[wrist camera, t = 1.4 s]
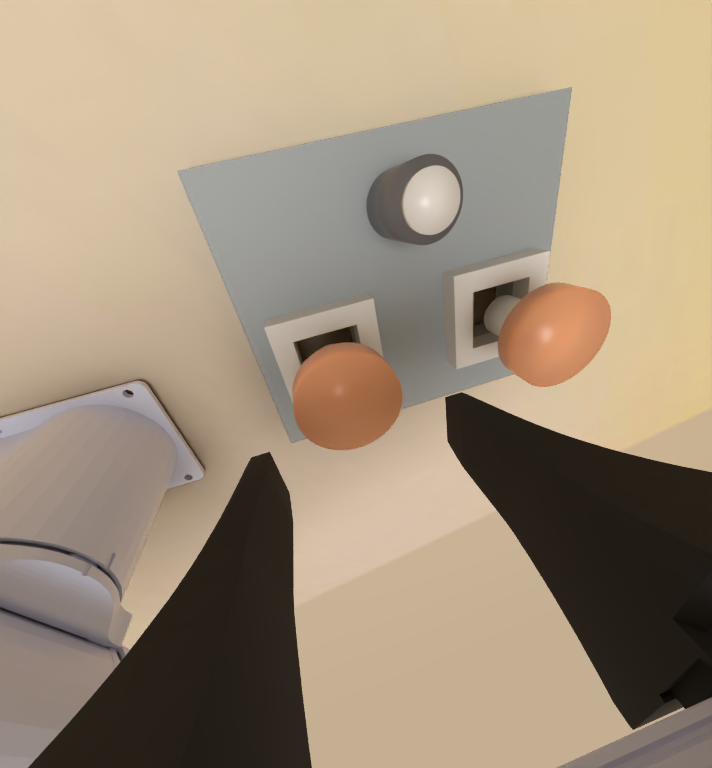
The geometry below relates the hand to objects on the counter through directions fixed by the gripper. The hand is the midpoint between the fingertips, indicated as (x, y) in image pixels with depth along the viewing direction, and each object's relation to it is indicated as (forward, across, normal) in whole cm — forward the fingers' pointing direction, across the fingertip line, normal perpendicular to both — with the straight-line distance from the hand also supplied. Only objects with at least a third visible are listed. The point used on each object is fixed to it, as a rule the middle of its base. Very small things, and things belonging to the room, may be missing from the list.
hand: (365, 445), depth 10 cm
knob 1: (+7, 0, 0) cm, 7 cm away
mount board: (+10, -5, -2) cm, 11 cm away
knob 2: (+7, -10, 0) cm, 12 cm away
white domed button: (+8, -5, -6) cm, 12 cm away
